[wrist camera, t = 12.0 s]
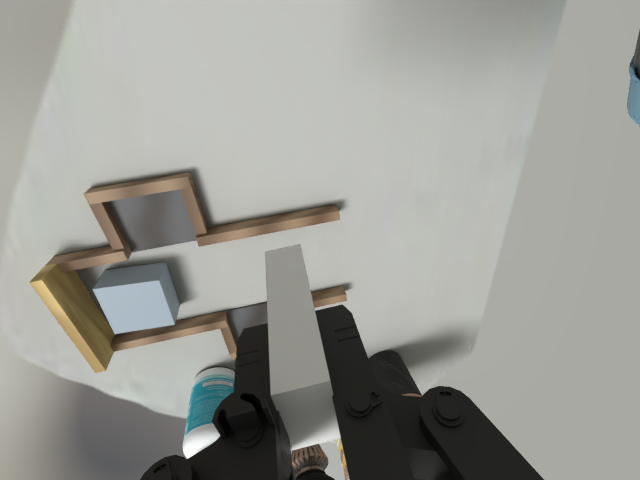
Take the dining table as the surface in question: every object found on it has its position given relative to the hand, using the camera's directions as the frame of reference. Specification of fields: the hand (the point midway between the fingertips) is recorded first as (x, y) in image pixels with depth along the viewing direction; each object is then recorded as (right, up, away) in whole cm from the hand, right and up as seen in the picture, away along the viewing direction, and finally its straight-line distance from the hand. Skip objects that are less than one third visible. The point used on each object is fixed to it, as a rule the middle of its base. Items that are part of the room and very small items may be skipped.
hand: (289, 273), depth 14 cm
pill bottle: (-15, -21, +38) cm, 47 cm away
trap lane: (-12, -3, +29) cm, 31 cm away
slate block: (-21, -5, +27) cm, 35 cm away
